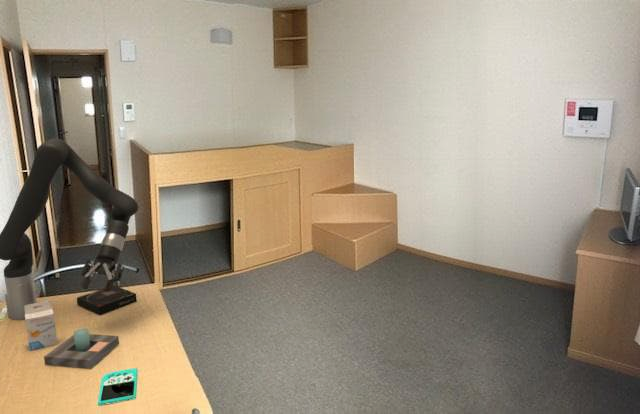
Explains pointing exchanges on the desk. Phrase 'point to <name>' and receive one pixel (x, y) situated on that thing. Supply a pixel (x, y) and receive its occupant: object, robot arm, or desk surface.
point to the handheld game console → (118, 386)
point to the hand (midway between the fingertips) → (95, 290)
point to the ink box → (40, 325)
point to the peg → (82, 340)
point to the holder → (72, 358)
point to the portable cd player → (106, 300)
